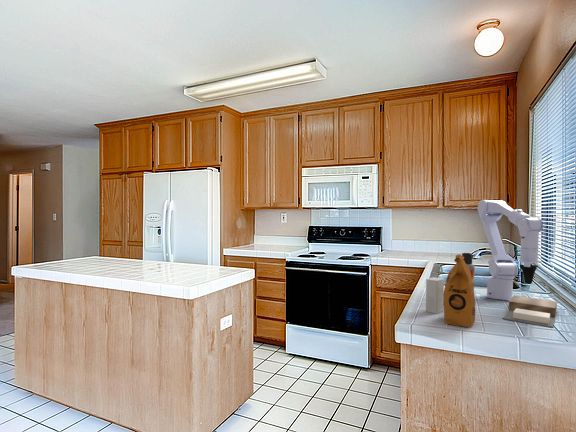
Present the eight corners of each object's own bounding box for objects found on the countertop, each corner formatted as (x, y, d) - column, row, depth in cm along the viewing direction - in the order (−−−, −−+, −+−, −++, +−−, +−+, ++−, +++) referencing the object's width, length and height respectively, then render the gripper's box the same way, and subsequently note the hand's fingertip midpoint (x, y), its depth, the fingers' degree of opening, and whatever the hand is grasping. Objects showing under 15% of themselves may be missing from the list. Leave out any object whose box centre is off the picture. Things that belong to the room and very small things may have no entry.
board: (508, 310, 137) (509, 301, 136) (513, 304, 147) (513, 295, 147) (555, 318, 128) (555, 308, 128) (556, 310, 138) (556, 301, 138)
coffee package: (439, 324, 118) (441, 256, 118) (444, 315, 129) (446, 253, 129) (473, 329, 113) (475, 259, 113) (476, 319, 124) (477, 255, 124)
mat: (502, 319, 125) (502, 318, 125) (508, 310, 136) (508, 309, 136) (553, 327, 116) (553, 326, 116) (555, 318, 127) (555, 317, 127)
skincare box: (432, 308, 137) (433, 277, 137) (443, 311, 134) (444, 278, 134) (425, 311, 133) (425, 278, 133) (436, 314, 130) (437, 280, 130)
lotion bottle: (458, 301, 149) (460, 252, 149) (457, 298, 154) (459, 251, 154) (474, 303, 147) (475, 253, 147) (472, 300, 152) (474, 252, 152)
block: (516, 308, 131) (515, 313, 131) (513, 312, 125) (513, 317, 126) (550, 313, 125) (550, 319, 125) (548, 317, 119) (548, 323, 119)
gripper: (540, 250, 133) (539, 287, 133) (543, 248, 145) (542, 282, 145) (517, 249, 138) (516, 285, 138) (522, 246, 149) (521, 279, 149)
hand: (528, 283), depth 142 cm, fingers closed
